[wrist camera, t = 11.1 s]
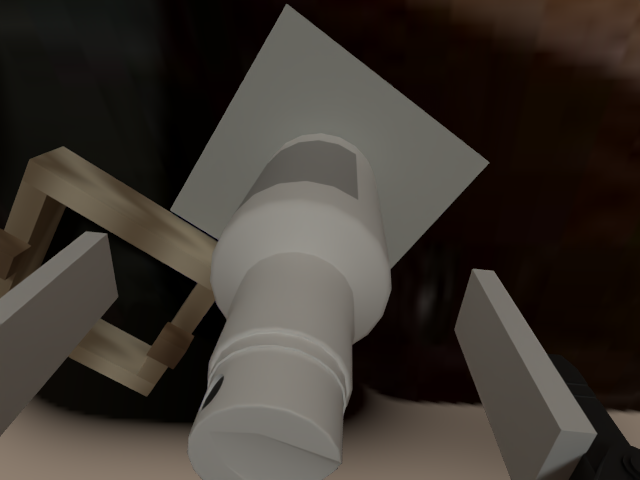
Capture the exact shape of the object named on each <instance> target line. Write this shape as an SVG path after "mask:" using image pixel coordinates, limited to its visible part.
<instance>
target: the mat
mask: <svg viewBox="0 0 640 480" xmlns="http://www.w3.org/2000/svg"><path fill="white" fill-rule="evenodd" d="M318 133H323V134H327V135H332V136H337V137H340V138H342V139H344V140H345V141H347V142H349V143H351V144H352V145H354V146H356V147H357V149H358V150H359V151H360V152H361V153H362V154H363V155H364V156H365V158H366V159H367V160H368V162H369V164H370V167H371V169H372V171H373V174H374V176H375V181H376V187H377V193H378V198H379V204H380V210H381V215H382V221H383V227H384V233H385V238H386V244H387V250H388V255H389V261H390V269H391V268H392V267H393V266H394V265H395V264H396V263H397V262H398V261H399V260H400V259H401V257H402V256H403V255H404V254H405V253H406V252H407V251H408V250H409V249H410V248H411V247H412V246H413V245H414V243H415V242H416V241H417V240H418V239H419V238H420V237H421V236H422V235H423V234H424V233H425V232H426V230H427V229H428V228H429V227H430V226H431V225H432V224H433V223H434V222H435V221H436V220H437V219H438V218H439V216H440V215H441V214H442V213H443V212H444V211H445V210H446V209H447V208H448V207H449V206H450V205H451V204H452V202H453V201H454V200H455V199H456V198H457V197H458V196H459V195H460V194H461V193H462V192H463V191H464V189H465V188H466V187H467V186H468V185H469V184H470V183H471V182H472V181H473V180H474V179H475V178H476V177H477V175H478V174H479V173H480V172H481V171H482V170H483V169H484V168H485V167H486V166H487V165H488V164H489V162H488V161H487V160H486V159H485V158H483V157H482V156H481V155H479V154H478V153H477V152H476V151H474V150H473V149H472V148H470V147H469V146H468V145H467V144H465V143H464V142H463V141H462V140H460V139H459V138H458V137H456V136H455V135H454V134H453V133H451V132H450V131H449V130H447V129H446V128H445V127H444V126H442V125H441V124H440V123H439V122H437V121H436V120H435V119H433V118H432V117H431V116H430V115H428V114H427V113H426V112H424V111H423V110H422V109H421V108H419V107H418V106H417V105H416V104H414V103H413V102H412V101H410V100H409V99H408V98H407V97H405V96H404V95H403V94H401V93H400V92H399V91H398V90H396V89H395V88H394V87H393V86H391V85H390V84H389V83H387V82H386V81H385V80H384V79H382V78H381V77H380V76H378V75H377V74H376V73H375V72H373V71H372V70H371V69H370V68H368V67H367V66H366V65H364V64H363V63H362V62H361V61H359V60H358V59H357V58H355V57H354V56H353V55H352V54H350V53H349V52H348V51H346V50H345V49H344V48H343V47H341V46H340V45H339V44H338V43H336V42H335V41H334V40H332V39H331V38H330V37H329V36H327V35H326V34H325V33H323V32H322V31H321V30H320V29H318V28H317V27H316V26H315V25H313V24H312V23H311V22H309V21H308V20H307V19H306V18H304V17H303V16H302V15H300V14H299V13H298V12H297V11H295V10H294V9H293V8H292V7H290V6H289V5H287V4H286V6H285V8H284V9H283V11H282V13H281V15H280V17H279V18H278V20H277V22H276V24H275V25H274V27H273V29H272V31H271V32H270V34H269V36H268V38H267V40H266V41H265V43H264V45H263V47H262V48H261V50H260V52H259V54H258V55H257V57H256V59H255V61H254V63H253V64H252V66H251V68H250V70H249V71H248V73H247V75H246V77H245V78H244V80H243V82H242V84H241V86H240V87H239V89H238V91H237V93H236V94H235V96H234V98H233V100H232V101H231V103H230V105H229V107H228V109H227V110H226V112H225V114H224V116H223V117H222V119H221V121H220V123H219V124H218V126H217V128H216V130H215V132H214V133H213V135H212V137H211V139H210V140H209V142H208V144H207V146H206V147H205V149H204V151H203V153H202V155H201V156H200V158H199V160H198V162H197V163H196V165H195V167H194V169H193V170H192V172H191V174H190V176H189V178H188V179H187V181H186V183H185V185H184V186H183V188H182V190H181V192H180V193H179V195H178V197H177V199H176V201H175V202H174V204H173V206H172V208H171V209H170V210H171V211H172V212H174V213H175V214H177V215H179V216H180V217H182V218H184V219H185V220H187V221H188V222H190V223H192V224H193V225H195V226H197V227H198V228H200V229H201V230H203V231H205V232H206V233H208V234H210V235H211V236H213V237H214V238H216V239H218V240H219V238H220V236H221V234H222V232H223V230H224V229H225V227H226V226H227V224H228V223H229V221H230V220H231V218H232V217H233V215H234V214H235V212H236V211H237V209H238V207H239V206H240V204H241V203H242V201H243V200H244V198H245V197H246V195H247V194H248V192H249V191H250V189H251V188H252V186H253V185H254V183H255V182H256V180H257V179H258V177H259V176H260V174H261V173H262V171H263V169H264V168H265V166H266V165H267V163H268V162H269V160H270V159H271V157H272V156H273V155H274V154H275V153H276V152H277V151H278V150H279V149H280V148H281V147H282V146H283V145H284V144H285V143H287V142H289V141H291V140H293V139H295V138H297V137H299V136H302V135H309V134H318Z"/></svg>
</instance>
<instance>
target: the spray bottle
mask: <svg viewBox="0 0 640 480" xmlns="http://www.w3.org/2000/svg"><path fill="white" fill-rule="evenodd" d="M210 283H211V287H212V290H213V294H214V297H215V301H216V304H217V306H218V307H219V309H220V310H221V312H222V313H223V315H224V316H225V318H226V319H227V322H226V324H225V326H224V329H223V331H222V333H221V335H220V338H219V340H218V342H217V345H216V347H215V349H214V352H213V354H212V356H211V358H210V361H209V367H208V388H207V391H206V394H205V396H204V399H203V401H202V404H201V406H200V409H199V411H198V414H197V416H196V419H195V421H194V423H193V426H192V428H191V431H190V434H189V436H188V450H187V453H188V456H189V459H190V462H191V464H192V467H193V469H194V471H195V472H196V473H197V474H198V475H199V476H200V478H201V479H202V480H323V479H324V478H326V477H327V476H329V475H330V474H331V473H333V472H334V471H335V470H337V469H338V466H339V465H341V464H342V441H343V414H344V411H345V408H346V406H347V405H348V401H349V398H350V395H351V392H352V345H353V344H354V343H356V342H357V341H359V340H360V339H362V338H363V337H365V336H366V335H368V334H369V332H370V331H371V330H372V329H373V327H374V326H375V325H376V323H377V322H378V321H379V320H380V318H381V317H382V316H383V313H384V310H385V307H386V304H387V301H388V298H389V295H390V292H391V273H390V261H389V255H388V250H387V244H386V238H385V233H384V227H383V221H382V215H381V210H380V204H379V198H378V193H377V187H376V181H375V176H374V174H373V171H372V169H371V167H370V164H369V162H368V160H367V159H366V158H365V156H364V155H363V154H362V153H361V152H360V151H359V150H358V149H357V147H356V146H354V145H352V144H351V143H349V142H347V141H345V140H344V139H342V138H340V137H337V136H332V135H327V134H323V133H318V134H309V135H302V136H299V137H297V138H295V139H293V140H291V141H289V142H287V143H285V144H284V145H283V146H282V147H281V148H280V149H279V150H278V151H277V152H276V153H275V154H274V155H273V156H272V157H271V159H270V160H269V162H268V163H267V165H266V166H265V168H264V169H263V171H262V173H261V174H260V176H259V177H258V179H257V180H256V182H255V183H254V185H253V186H252V188H251V189H250V191H249V192H248V194H247V195H246V197H245V198H244V200H243V201H242V203H241V204H240V206H239V207H238V209H237V211H236V212H235V214H234V215H233V217H232V218H231V220H230V221H229V223H228V224H227V226H226V227H225V229H224V230H223V232H222V234H221V236H220V238H219V240H218V242H217V245H216V247H215V249H214V251H213V253H212V263H211V274H210Z"/></svg>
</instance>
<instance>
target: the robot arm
mask: <svg viewBox="0 0 640 480" xmlns="http://www.w3.org/2000/svg"><path fill="white" fill-rule="evenodd" d="M117 298H118V293H117V288H116V282H115V276H114V270H113V264H112V259H111V253H110V247H109V241H108V235H107V234H106V233H96V232H85V233H83V234H82V235H81V236H80V237H78V238H77V239H76V240H74V241H73V242H72V243H71V244H69V245H68V246H67V247H66V248H64V249H63V250H62V251H60V252H59V253H58V254H57V255H55V256H54V257H53V258H51V259H50V260H49V261H48V262H46V263H45V264H44V265H42V266H41V267H40V268H39V269H37V270H36V271H35V272H33V273H32V274H31V275H30V276H28V277H27V278H26V279H24V280H23V281H22V282H21V283H19V284H18V285H17V286H15V287H14V288H13V289H12V290H10V291H9V292H8V293H6V294H5V295H4V296H3V297H1V298H0V436H1V435H2V434H3V432H4V431H5V430H6V429H7V427H8V426H9V425H10V424H11V423H12V422H13V421H14V419H15V418H16V417H17V416H18V415H19V413H20V412H21V411H22V410H23V409H24V408H25V406H26V405H27V404H28V403H29V402H30V400H31V399H32V398H33V397H34V396H35V395H36V393H37V392H38V391H39V390H40V389H41V387H42V386H43V385H44V384H45V383H46V382H47V380H48V379H49V378H50V377H51V376H52V374H53V373H54V372H55V371H56V370H57V369H58V367H59V366H60V365H61V364H62V363H63V361H64V360H65V359H66V358H67V357H68V356H69V354H70V353H71V352H72V351H73V350H74V348H75V347H76V346H77V345H78V344H79V343H80V341H81V340H82V339H83V338H84V337H85V335H86V334H87V333H88V332H89V331H90V330H91V328H92V327H93V326H94V325H95V324H96V322H97V321H98V320H99V319H100V318H101V317H102V315H103V314H104V313H105V312H106V311H107V309H108V308H109V307H110V306H111V305H112V304H113V302H114V301H115V300H116V299H117ZM454 330H455V333H456V335H457V338H458V341H459V343H460V346H461V348H462V351H463V354H464V356H465V359H466V362H467V364H468V367H469V370H470V372H471V375H472V378H473V380H474V383H475V386H476V388H477V391H478V393H479V396H480V399H481V401H482V404H483V407H484V409H485V412H486V415H487V417H488V420H489V422H490V425H491V428H492V430H493V433H494V436H495V439H496V441H497V444H498V446H499V449H500V452H501V454H502V457H503V460H504V462H505V465H506V468H507V470H508V473H509V476H510V478H511V480H640V449H638V448H636V447H633V446H630V444H629V443H628V441H627V440H626V439H625V437H624V436H623V434H622V433H621V431H620V430H619V429H618V427H617V426H616V424H615V423H614V421H613V420H612V418H611V417H610V416H609V414H608V413H607V411H606V410H605V408H604V407H603V406H602V404H601V403H600V401H599V400H598V399H596V395H595V394H594V393H593V391H592V390H591V388H590V387H588V386H587V383H586V381H585V380H584V378H583V377H582V375H581V374H580V373H579V371H578V370H577V369H576V368H575V367H574V366H573V365H572V364H571V363H569V362H568V361H567V360H566V359H565V358H563V357H562V356H561V355H553V354H546V352H545V351H544V349H543V348H542V346H541V344H540V343H539V341H538V340H537V338H536V337H535V335H534V333H533V332H532V330H531V329H530V327H529V326H528V324H527V322H526V321H525V319H524V318H523V316H522V315H521V313H520V311H519V310H518V308H517V307H516V305H515V303H514V302H513V300H512V299H511V297H510V296H509V294H508V292H507V291H506V289H505V288H504V286H503V285H502V283H501V281H500V280H499V278H498V277H497V275H496V274H495V272H494V271H489V270H479V269H472V272H471V275H470V279H469V282H468V285H467V289H466V292H465V295H464V299H463V302H462V306H461V309H460V312H459V316H458V319H457V323H456V326H455V329H454Z"/></svg>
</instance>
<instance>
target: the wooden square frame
mask: <svg viewBox="0 0 640 480" xmlns="http://www.w3.org/2000/svg"><path fill="white" fill-rule="evenodd" d="M66 206H67V207H69V208H71V209H72V210H74V211H76V212H78V213H79V214H81V215H83V216H84V217H86V218H88V219H90V220H91V221H93V222H95V223H96V224H98V225H100V226H101V227H103V228H105V229H107V230H108V231H110V232H112V233H113V234H115V235H117V236H119V237H120V238H122V239H124V240H125V241H127V242H129V243H131V244H132V245H134V246H136V247H137V248H139V249H141V250H142V251H144V252H146V253H148V254H149V255H151V256H153V257H154V258H156V259H158V260H160V261H161V262H163V263H165V264H166V265H168V266H170V267H172V268H173V269H175V270H177V271H178V272H180V273H182V274H183V275H185V276H187V277H189V278H190V279H192V280H194V281H195V282H197V284H196V286H195V287H194V289H193V290H192V292H191V293H190V295H189V296H188V298H187V299H186V301H185V302H184V304H183V305H182V307H181V308H180V310H179V311H178V313H177V314H176V316H175V317H174V319H173V320H172V322H171V323H170V322H167V324H166V325H165V327H164V328H163V330H162V332H161V333H160V334H159V336H158V338H157V339H156V341H155V342H154V344H153V345H152V346H150V345H148V344H147V343H145V342H142V341H141V340H139V339H137V338H135V337H133V336H132V335H130V334H128V333H126V332H124V331H122V330H120V329H119V328H117V327H115V326H113V325H111V324H109V323H107V322H105V321H104V320H102V319H99V320H98V321H97V322H96V324H95V325H94V326H93V327H92V328H91V330H90V331H89V332H88V333H87V334H86V335H85V337H84V338H83V339H82V340H81V341H80V343H79V344H78V345H77V346H76V347H75V348H74V350H73V351H72V352H71V353H70V354H69V356H68V357H70V358H72V359H74V360H76V361H78V362H80V363H82V364H84V365H86V366H88V367H90V368H92V369H94V370H95V371H97V372H100V373H101V374H104V375H105V376H107V377H109V378H111V379H114V380H115V381H117V382H119V383H121V384H123V385H125V386H127V387H129V388H131V389H133V390H135V391H137V392H139V393H141V394H143V395H145V396H148V394H149V393H150V391H151V390H152V389H153V387H154V386H155V385H156V383H157V382H158V380H159V379H160V377H161V376H162V375H163V373H164V372H165V370H166V369H167V368H168V367H170V368H171V369H174V368H175V366H176V365H177V364H178V362H179V361H180V359H181V358H182V357H183V355H184V354H185V352H186V351H187V349H188V347H189V345H190V343H191V341H192V340H193V338H194V336H193V335H192V332H193V331H194V329H195V328H196V327H197V325H198V324H199V322H200V321H201V320H202V318H203V317H204V315H205V314H206V313H207V311H208V310H209V308H210V307H211V306H212V304H213V303H214V301H215V297H214V294H213V290H212V287H211V283H210V274H211V263H212V253H213V251H214V249H215V247H216V245H217V242H218V241H216V240H215V239H213V238H211V237H210V236H208V235H206V234H205V233H203V232H202V231H200V230H198V229H197V228H195V227H193V226H192V225H190V224H189V223H187V222H185V221H184V220H182V219H180V218H179V217H177V216H176V215H174V214H172V213H171V212H169V211H167V210H166V209H164V208H163V207H161V206H159V205H158V204H156V203H154V202H153V201H151V200H150V199H148V198H146V197H145V196H143V195H141V194H140V193H138V192H137V191H135V190H133V189H132V188H130V187H128V186H127V185H125V184H124V183H122V182H120V181H119V180H117V179H115V178H114V177H112V176H111V175H109V174H107V173H106V172H104V171H102V170H101V169H99V168H98V167H96V166H94V165H93V164H91V163H89V162H88V161H86V160H85V159H83V158H81V157H80V156H78V155H76V154H75V153H73V152H72V151H70V150H68V149H67V148H65V147H60V148H58V149H55V150H53V151H50V152H47V153H45V154H42V155H39V156H37V157H34V158H31V159H29V162H28V165H27V168H26V171H25V173H24V176H23V179H22V182H21V185H20V187H19V190H18V193H17V196H16V199H15V201H14V204H13V207H12V210H11V213H10V215H9V218H8V221H7V224H6V227H5V229H4V230H2V229H0V298H1V297H3V296H4V295H5V294H6V293H8V292H9V291H10V290H12V289H13V288H14V287H15V286H17V285H18V284H19V283H21V282H22V281H23V280H24V279H26V278H27V277H28V276H30V275H31V274H32V273H33V272H35V271H36V270H37V269H39V268H40V266H41V264H42V262H43V259H44V257H45V255H46V252H47V250H48V248H49V245H50V243H51V241H52V238H53V236H54V234H55V231H56V229H57V226H58V224H59V222H60V219H61V217H62V215H63V212H64V210H65V208H66Z"/></svg>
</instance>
